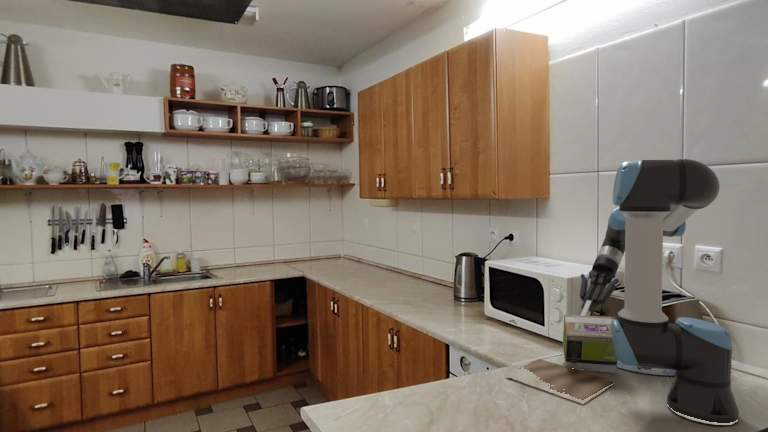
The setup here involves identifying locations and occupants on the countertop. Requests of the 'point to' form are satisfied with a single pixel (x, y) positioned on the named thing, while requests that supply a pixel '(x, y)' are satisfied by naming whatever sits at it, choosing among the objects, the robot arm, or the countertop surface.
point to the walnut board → (568, 379)
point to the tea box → (589, 343)
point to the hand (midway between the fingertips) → (583, 319)
